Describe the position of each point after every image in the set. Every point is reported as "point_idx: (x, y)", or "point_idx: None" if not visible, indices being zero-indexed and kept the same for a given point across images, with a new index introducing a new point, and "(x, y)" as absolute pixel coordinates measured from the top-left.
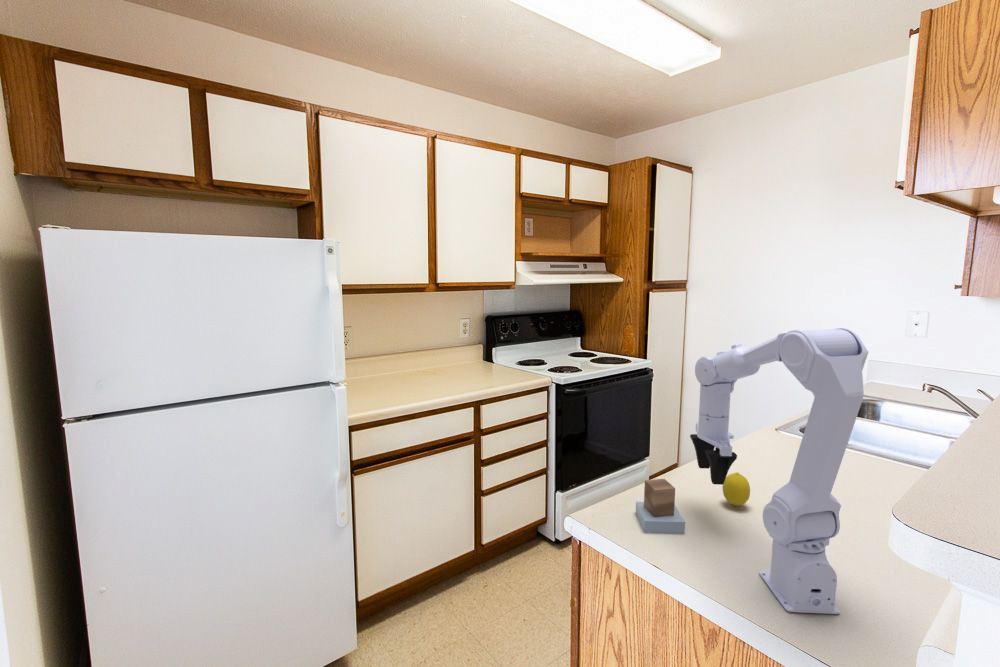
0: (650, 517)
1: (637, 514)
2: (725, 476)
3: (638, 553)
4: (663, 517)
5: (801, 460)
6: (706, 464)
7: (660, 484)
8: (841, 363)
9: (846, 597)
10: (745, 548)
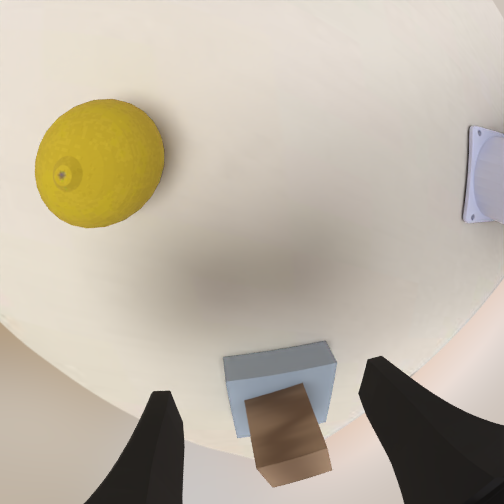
0: None
1: None
2: (414, 382)
3: None
4: (312, 399)
5: None
6: (174, 422)
7: (299, 469)
8: None
9: (498, 95)
10: (390, 211)
